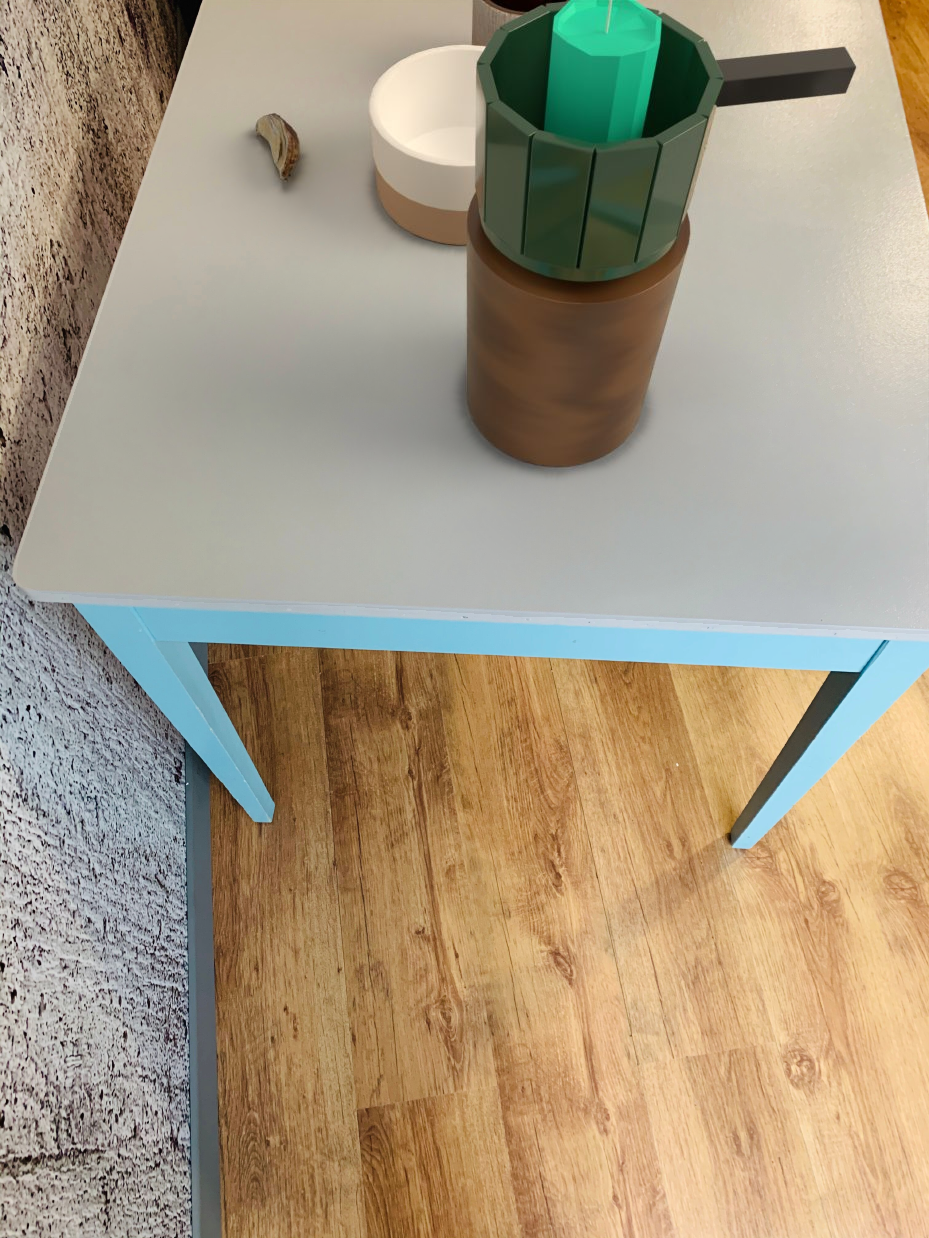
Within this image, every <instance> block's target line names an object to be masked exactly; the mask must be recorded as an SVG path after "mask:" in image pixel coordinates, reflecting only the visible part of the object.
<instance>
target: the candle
mask: <svg viewBox="0 0 929 1238" xmlns="http://www.w3.org/2000/svg"><path fill="white" fill-rule="evenodd" d="M647 8H648V7H646V8H645V6H644V5H642V4H641V3H640V2H638V1H637V0H570V1H569V2H568V3H567V4H566V5H565V6H564V7H563V8H562V9H561V10H560V11H559V12H558V13H557V14H556V15H555V16H554V23H553V33H552V45H551V56H550V68H549V79H548V90H547V102H546V113H545V125H544V131H545V132H549V133H554V134H558V135H562V136H566V137H570V138H574V139H578V140H582V141H586V142H590V143H594V144H596V143H605V142H614V141H623V140H632V139H641V137H642V132H643V127H644V122H645V117H646V112H647V107H648V102H649V96H650V91H651V86H652V81H653V76H654V71H655V66H656V61H657V56H658V51H659V46H660V37H661V21H662V19H661V18H660V17H658V16H657V15H655V14H654V13H653V12H651V11H650V10H648V9H647Z"/></svg>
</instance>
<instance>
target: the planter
mask: <svg viewBox="0 0 929 1238" xmlns="http://www.w3.org/2000/svg"><path fill="white" fill-rule="evenodd" d="M569 1H570V0H472V13H471V14H472V17H471V19H472V20H471V45H474V46H485V47H486V46H487V44H488V42H489V41H490V39H491V37H492V36H493V34H494V32H495V31H496V29H499V28H500V26H502V25H504V24H506V23H508V22H510V21H512V20H514V19H516V18H518V17H520V16H522V15H524V14H526V13H528V12H529V11H531V10H533V9H535V8H537V7H539V6H541V5H543V6H544V7H546V4H551V3H561V2H569Z"/></svg>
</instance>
